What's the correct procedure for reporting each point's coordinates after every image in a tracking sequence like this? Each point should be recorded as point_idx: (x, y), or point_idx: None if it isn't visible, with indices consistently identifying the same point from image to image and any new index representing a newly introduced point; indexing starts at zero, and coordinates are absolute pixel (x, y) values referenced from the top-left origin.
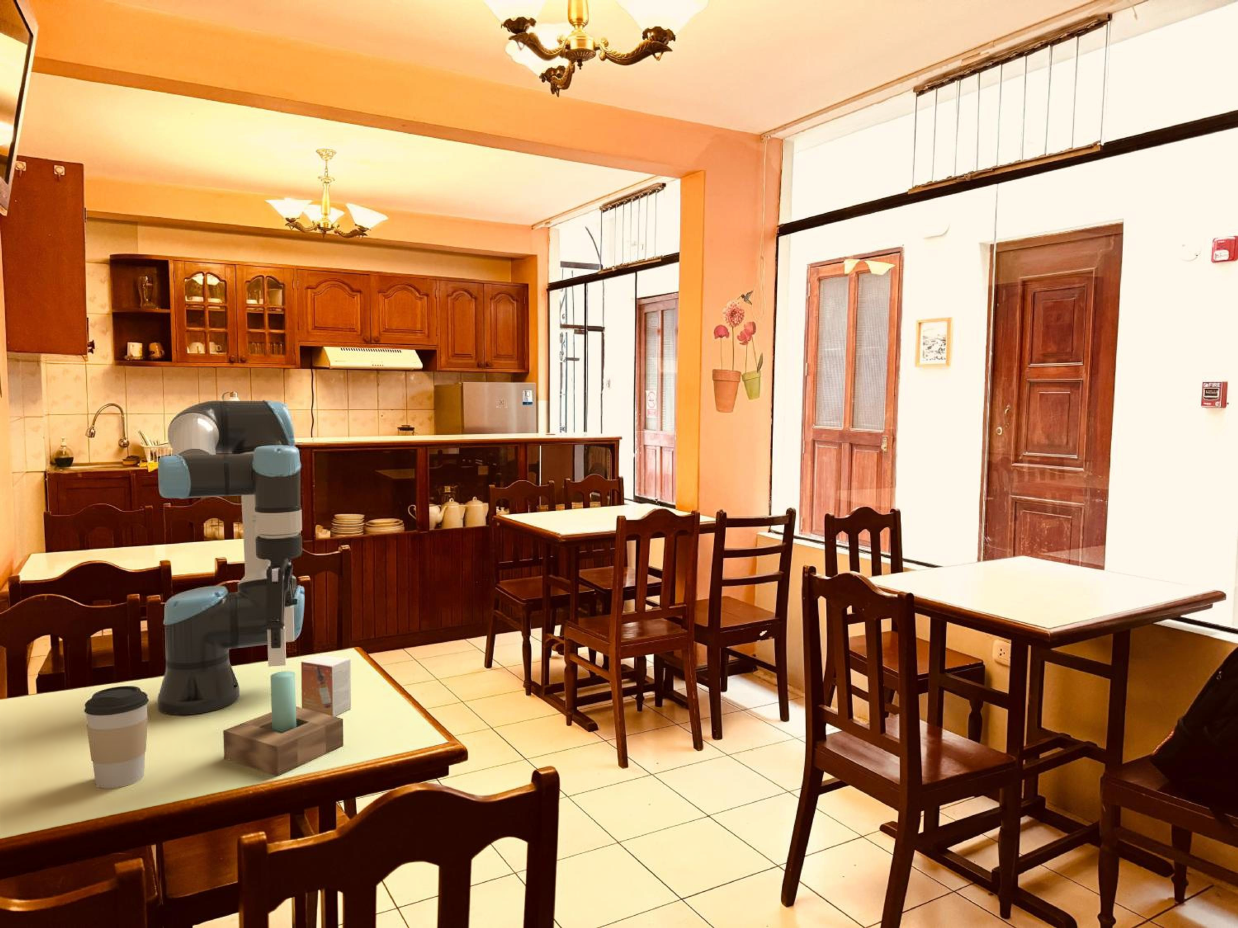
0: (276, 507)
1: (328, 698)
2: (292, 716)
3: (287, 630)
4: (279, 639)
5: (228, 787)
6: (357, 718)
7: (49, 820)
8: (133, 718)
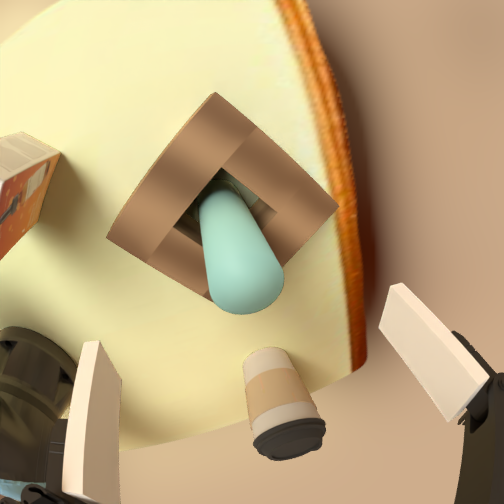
0: None
1: (41, 170)
2: (243, 206)
3: (104, 397)
4: (474, 351)
5: (331, 247)
6: (69, 99)
7: (337, 366)
8: (310, 409)
